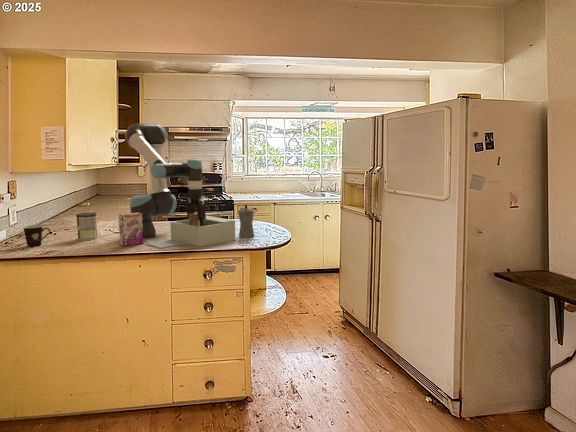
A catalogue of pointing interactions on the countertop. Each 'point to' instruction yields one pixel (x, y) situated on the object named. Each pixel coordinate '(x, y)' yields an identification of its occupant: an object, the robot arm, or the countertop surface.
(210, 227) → the crate
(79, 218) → the coffee can
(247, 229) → the coffeepot
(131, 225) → the candy bar box
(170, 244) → the pad
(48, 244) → the countertop surface
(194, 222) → the walnut block
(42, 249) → the countertop surface
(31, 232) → the coffee mug
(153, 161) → the robot arm
